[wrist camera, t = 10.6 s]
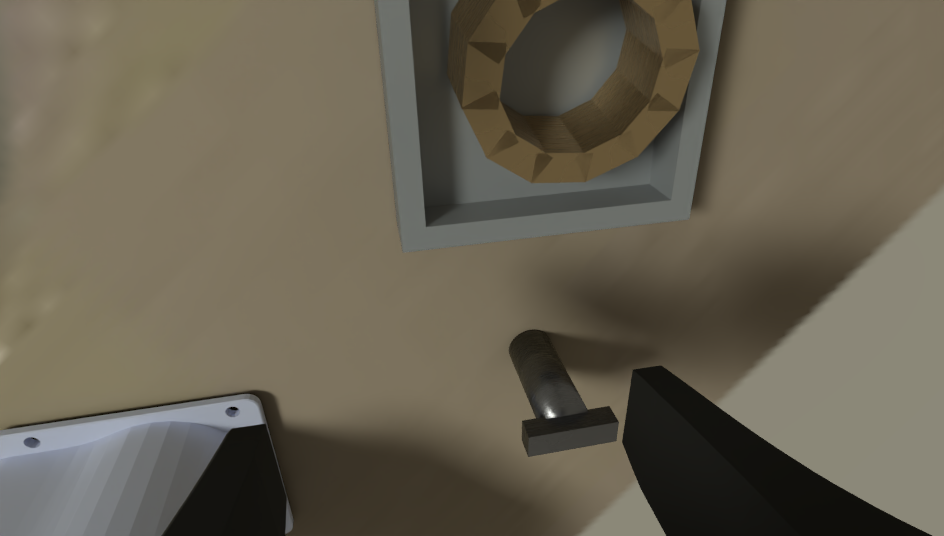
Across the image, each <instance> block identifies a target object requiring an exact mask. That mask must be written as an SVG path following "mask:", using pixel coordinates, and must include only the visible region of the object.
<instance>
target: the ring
mask: <svg viewBox="0 0 944 536" xmlns="http://www.w3.org/2000/svg"><path fill="white" fill-rule="evenodd" d="M556 1H558V0H458V2H457V3H456V5H455V7H454V8H453V10H452V11H451V20H450V34H449V49H448V63H447V75H448V78H449V80H450V82H451V85H452V87H453V90H454V92H455V94H456V97H457V99H458V101H459V104H460V106H461V109H462V110H463V112H464V114H465V116H466V118H467V120H468V122H469V124H470V126H471V128H472V130H473V131H474V133H475V135H476V137H477V139H478V141H479V143H480V145H481V147H482V149H483V151H484V154H485V156H486V158H487V159H489V160H491V161H493V162H495V163H497V164H498V165H500V166H502V167H504V168H505V169H507V170H509V171H511V172H513V173H514V174H516V175H518V176H520V177H522V178H523V179H525V180H527V181H529V182H531V183H570V182H587V181H589V180H591V179H593V178H595V177H597V176H599V175H601V174H603V173H605V172H607V171H609V170H611V169H613V168H615V167H617V166H620V165H622V164H624V163H626V162H628V161H630V160H632V159H634V158H636V157H638V156H639V155H640V153H641V152H642V151H643V150H644V149H645V148H646V147H647V146H648V144H649V143H650V142H651V141H652V140H653V139H654V138H655V137H656V136H657V134H658V133H659V132H660V131H661V130H662V129H663V128H664V127H665V126H666V124H667V123H668V122H669V121H670V120H671V119H672V118H673V117H674V116H675V114H676V113H677V112H678V111H679V109H680V106H681V103H682V100H683V97H684V95H685V92H686V89H687V86H688V83H689V80H690V77H691V74H692V71H693V68H694V65H695V63H696V60H697V57H698V54H699V51H700V49H699V43H698V37H697V31H696V25H695V19H694V13H693V6H692V0H619V2H620V7H621V11H622V15H623V19H624V23H625V27H626V33H625V37H624V40H623V44H622V48H621V52H620V56H619V60H618V64H617V68H616V69H615V71H614V72H613V73H612V74H611V76H610V77H609V78H608V79H607V80H606V82H605V83H604V84H603V85H602V87H601V88H600V89H599V90H598V92H597V93H596V94H595V95H594V97H593V98H592V99H591V100H589V101H587V102H585V103H583V104H581V105H579V106H577V107H575V108H573V109H571V110H569V111H567V112H565V113H563V114H561V115H559V116H523V115H522V114H520V113H519V112H517V111H515V110H514V109H512V108H511V107H509V106H508V105H506V104H504V103H503V102H501V101H500V92H501V85H502V77H503V70H504V62H505V55H506V53H507V52H508V50H509V49H510V47H511V46H512V45H513V43H514V42H515V40H516V39H517V37H518V36H519V34H520V33H521V32H522V30H523V29H524V27H525V26H526V24H527V23H528V22H529V20H530V19H531V17H532V16H533V14H534V13H536V12H537V11H539V10H541V9H543V8H545V7H547V6H549V5H550V4H552V3H554V2H556Z"/></svg>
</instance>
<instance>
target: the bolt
mask: <svg viewBox="0 0 944 536" xmlns="http://www.w3.org/2000/svg"><path fill="white" fill-rule="evenodd" d="M509 354H510V357H511V359H512V362H513V364H514V367H515V369H516V371H517V374H518V376H519V378H520V381H521V383H522V386H523V388H524V390H525V393H526V395H527V398H528V400H529V402H530V405H531V407H532V409H533V412H534V414H535V417H536V419H530V420H524V421H522V442H523V444H524V447H525V450H526V452H527V455H528V457H530V456H536V455H541V454H547V453H553V452H558V451H564V450H569V449H575V448H580V447H586V446H592V445H597V444H603V443H608V442H614V441H616V439H617V432H618V424H619V422H618V420H617V418H616V417H615V415H614V413H613V412H612V410H611V408H610V406H607V407H601V408H595V409H589V410H587V408H586V406H585V404H584V402H583V401H582V399H581V397H580V395H579V393H578V391H577V390H576V388H575V386H574V384H573V382H572V380H571V378H570V377H569V375H568V373H567V371H566V369H565V367H564V365H563V364H562V362H561V360H560V358H559V356H558V354H557V352H556V351H555V349H554V347H553V345H552V343H551V341H550V340H549V338H548V336H547V335H546V334H545V333H543V332H541V331H538V330H529V331H525V332H523V333H521V334H519V335H518V336H516V337H515V338H514V339H513V341H512V342H511V344H510V347H509Z"/></svg>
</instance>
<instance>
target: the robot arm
mask: <svg viewBox="0 0 944 536" xmlns="http://www.w3.org/2000/svg"><path fill="white" fill-rule="evenodd" d="M229 407H236V408H238V410H231V409H229ZM31 437H34V438H36V439H38V440H34V439H32V438H31ZM622 443H623V445H624V448H625V450H626V453H627V456H628V458H629V461H630V463H631V466H632V469H633V471H634V473H635V476H636V478H637V480H638V483H639V485H640V488H641V490H642V492H643V493H644V495H645V497H646V499H647V501H648V503H649V505H650V507H651V508H652V510H653V512H654V514H655V516H656V518H657V519H658V521H659V523H660V525H661V527H662V528H663V530H664V532H665V534H666V536H932V535H930V534H927V533H926V532H924V531H922V530H919V529H917V528H915V527H913V526H911V525H909V524H907V523H905V522H903V521H901V520H899V519H897V518H895V517H893V516H892V515H890V514H888V513H886V512H884V511H882V510H880V509H878V508H876V507H874V506H873V505H871V504H869V503H867V502H866V501H864V500H862V499H860V498H858V497H856V496H855V495H853V494H851V493H849V492H848V491H846V490H844V489H842V488H840V487H838V486H837V485H835V484H833V483H832V482H830V481H828V480H827V479H825V478H823V477H822V476H820V475H818V474H817V473H815V472H813V471H812V470H810V469H809V468H807V467H805V466H804V465H802V464H801V463H799V462H798V461H796V460H794V459H793V458H791V457H790V456H788V455H787V454H785V453H784V452H782V451H780V450H779V449H777V448H776V447H774V446H773V445H771V444H770V443H768V442H767V441H766V440H764V439H763V438H761V437H759V436H758V435H757V434H755V433H754V432H752V431H751V430H749V429H748V428H747V427H745V426H744V425H742V424H741V423H739V422H738V421H737V420H735V419H734V418H732V417H731V416H730V415H728V414H727V413H726V412H724V411H723V410H721V409H720V408H719V407H717V406H716V405H715V404H713V403H712V402H711V401H709V400H708V399H706V398H705V397H704V396H702V395H701V394H700V393H698V392H697V391H696V390H694V389H693V388H692V387H690V386H689V385H687V384H686V383H685V382H683V381H682V380H681V379H679V378H678V377H677V376H675V375H674V374H672V373H671V372H670V371H668V370H667V369H665V368H664V367H662V366H655V367H648V368H641V369H634V370H633V373H632V379H631V386H630V393H629V400H628V406H627V413H626V420H625V426H624V433H623V440H622ZM292 528H293V516H292V512H291V509H290V505H289V501H288V498H287V494H286V491H285V487H284V483H283V480H282V476H281V473H280V469H279V465H278V462H277V458H276V454H275V451H274V447H273V444H272V440H271V436H270V433H269V429H268V426H267V422H266V418H265V415H264V411H263V407H262V404H261V401H260V399H259V398H258V397H257V396H255V395H252V394H241V395H235V396H228V397H221V398H214V399H208V400H201V401H194V402H188V403H181V404H174V405H167V406H161V407H154V408H147V409H141V410H134V411H127V412H120V413H114V414H107V415H100V416H94V417H87V418H80V419H73V420H67V421H60V422H53V423H47V424H40V425H33V426H27V427H20V428H13V429H6V430H0V536H285V534H287V533H288V532H290V531H291V530H292Z"/></svg>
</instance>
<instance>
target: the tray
mask: <svg viewBox="0 0 944 536" xmlns="http://www.w3.org/2000/svg"><path fill="white" fill-rule="evenodd" d="M457 2H458V0H374V3H375V13H376V23H377V32H378V42H379V52H380V62H381V71H382V81H383V91H384V101H385V110H386V120H387V130H388V140H389V149H390V159H391V169H392V179H393V188H394V198H395V208H396V218H397V226H398V231H399V236H400V241H401V246H402V251H403V252H412V251H420V250H429V249H438V248H446V247H455V246H463V245H472V244H481V243H489V242H498V241H506V240H515V239H523V238H532V237H541V236H549V235H558V234H566V233H575V232H584V231H592V230H601V229H609V228H618V227H627V226H635V225H644V224H652V223H661V222H669V221H678V220H687V219H689V217H690V212H691V206H692V200H693V194H694V188H695V182H696V176H697V170H698V165H699V159H700V153H701V147H702V141H703V135H704V129H705V124H706V118H707V112H708V106H709V100H710V94H711V88H712V82H713V77H714V71H715V65H716V59H717V53H718V47H719V41H720V35H721V30H722V24H723V18H724V12H725V6H726V0H692V6H693V13H694V19H695V25H696V31H697V37H698V43H699V49H700V51H699V54H698V57H697V60H696V63H695V65H694V68H693V71H692V74H691V77H690V80H689V83H688V86H687V89H686V92H685V95H684V97H683V100H682V103H681V106H680V109H679V111H678V112H677V113H676V114H675V116H674V117H673V118H672V119H671V120H670V121H669V122H668V123H667V124H666V126H665V127H664V128H663V129H662V130H661V131H660V132H659V133H658V134H657V136H656V137H655V138H654V139H653V140H652V141H651V142H650V143H649V144H648V146H647V147H646V148H645V149H644V150H643V151H642V152H641V153H640V155H639V156H638V157H636V158H634V159H632V160H630V161H628V162H626V163H624V164H622V165H620V166H617V167H615V168H613V169H611V170H609V171H607V172H605V173H603V174H601V175H599V176H597V177H595V178H593V179H591V180H589V181H587V182H570V183H531V182H529V181H527V180H525V179H523V178H522V177H520V176H518V175H516V174H514V173H513V172H511V171H509V170H507V169H505V168H504V167H502V166H500V165H498V164H497V163H495V162H493V161H491V160H489V159H487V158H486V156H485V154H484V151H483V149H482V147H481V145H480V143H479V141H478V139H477V137H476V135H475V133H474V131H473V130H472V128H471V126H470V124H469V122H468V120H467V118H466V116H465V114H464V112H463V110H462V109H461V106H460V104H459V101H458V99H457V97H456V94H455V92H454V90H453V87H452V85H451V82H450V80H449V78H448V75H447V63H448V49H449V34H450V20H451V11H452V10H453V8H454V7H455V5H456V3H457ZM625 33H626V27H625V23H624V19H623V15H622V11H621V7H620V2H619V0H558V1H556V2H554V3H552V4H550V5H549V6H547V7H545V8H543V9H541V10H539V11H537V12H536V13H534V14H533V16H532V17H531V19H530V20H529V22H528V23H527V24H526V26H525V27H524V29H523V30H522V32H521V33H520V34H519V36H518V37H517V39H516V40H515V42H514V43H513V45H512V46H511V47H510V49H509V50H508V52H507V53H506V55H505V62H504V70H503V77H502V85H501V92H500V101H501V102H503V103H504V104H506V105H508V106H509V107H511V108H512V109H514V110H515V111H517V112H519V113H520V114H522V115H523V116H559V115H561V114H563V113H565V112H567V111H569V110H571V109H573V108H575V107H577V106H579V105H581V104H583V103H585V102H587V101H589V100H591V99H592V98H593V97H594V95H595V94H596V93H597V92H598V90H599V89H600V88H601V87H602V85H603V84H604V83H605V82H606V80H607V79H608V78H609V77H610V76H611V74H612V73H613V72H614V71H615V69H616V68H617V64H618V60H619V56H620V52H621V48H622V44H623V40H624V37H625Z"/></svg>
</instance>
